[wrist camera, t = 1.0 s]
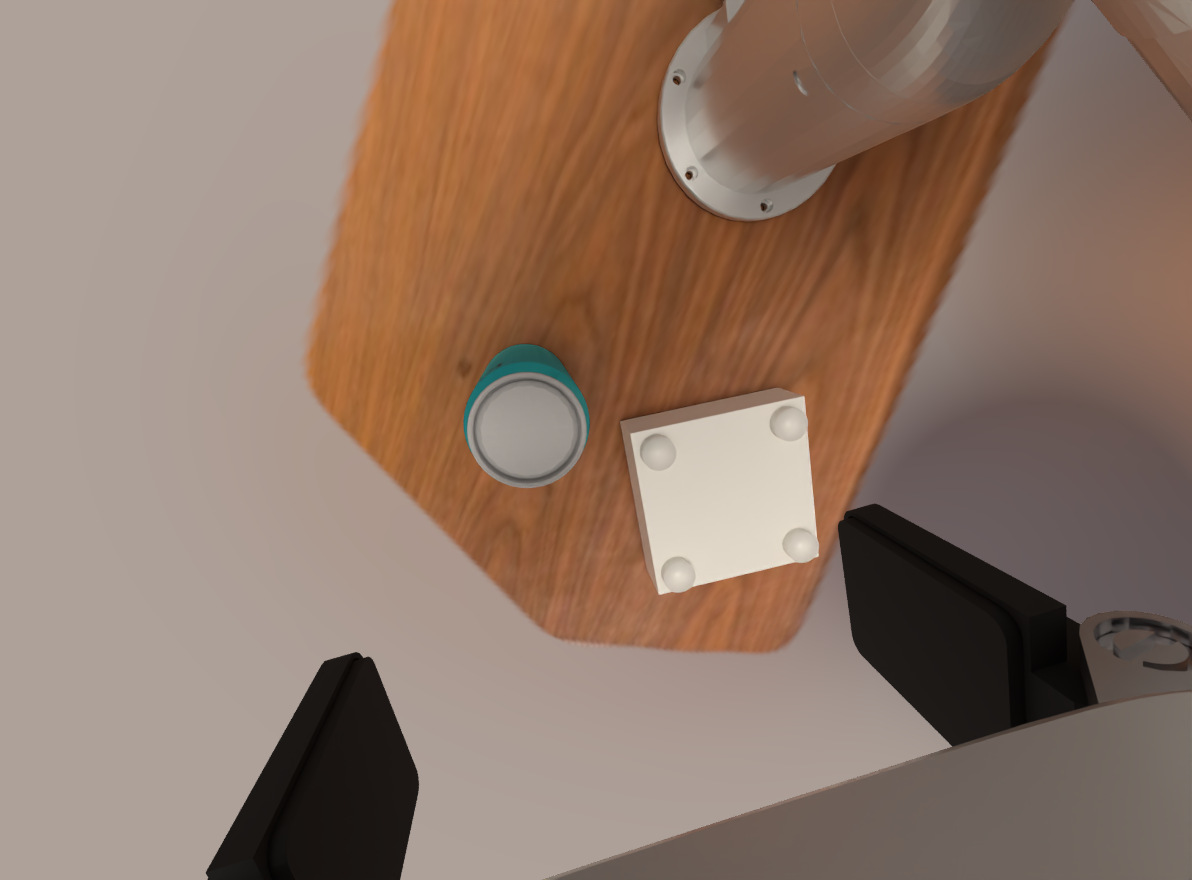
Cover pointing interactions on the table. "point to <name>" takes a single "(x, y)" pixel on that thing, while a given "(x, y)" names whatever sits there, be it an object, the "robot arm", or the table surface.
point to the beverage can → (526, 418)
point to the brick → (722, 488)
